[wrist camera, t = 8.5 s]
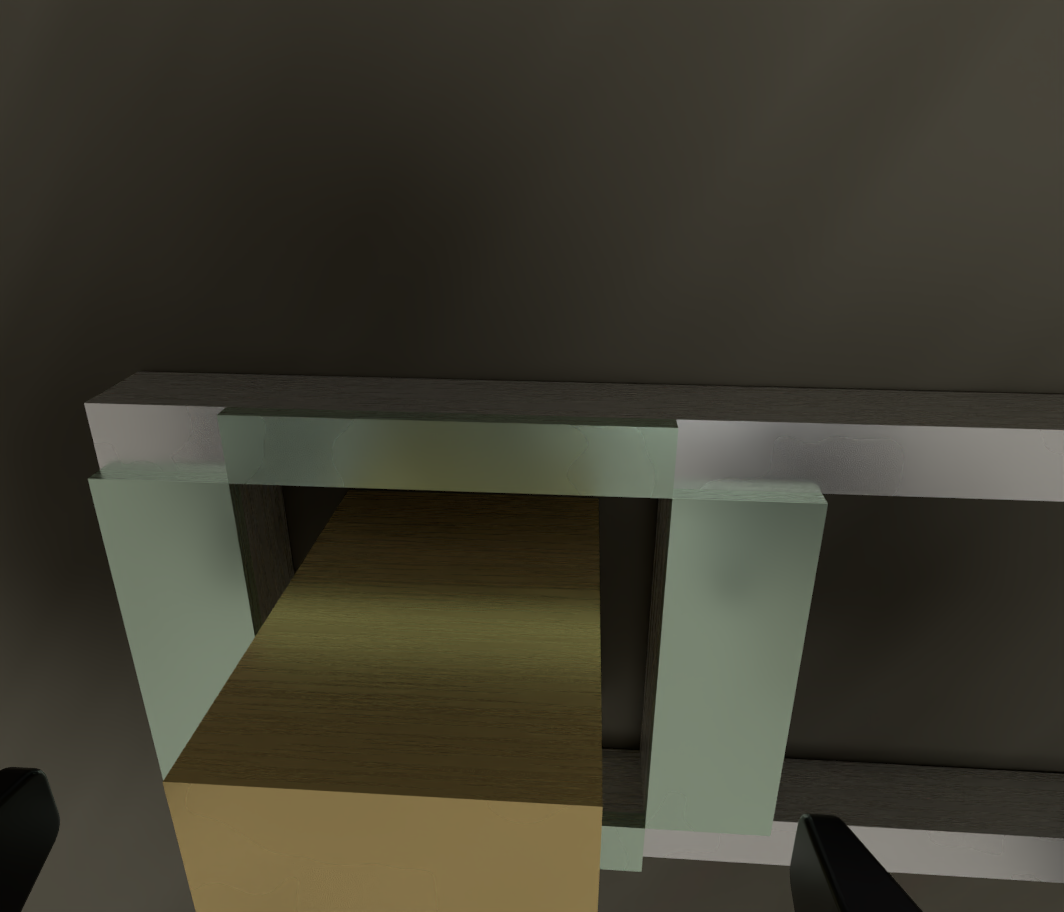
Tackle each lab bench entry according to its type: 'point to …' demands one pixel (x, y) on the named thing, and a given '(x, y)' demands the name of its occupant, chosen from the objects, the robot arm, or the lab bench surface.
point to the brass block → (411, 720)
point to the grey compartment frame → (677, 585)
